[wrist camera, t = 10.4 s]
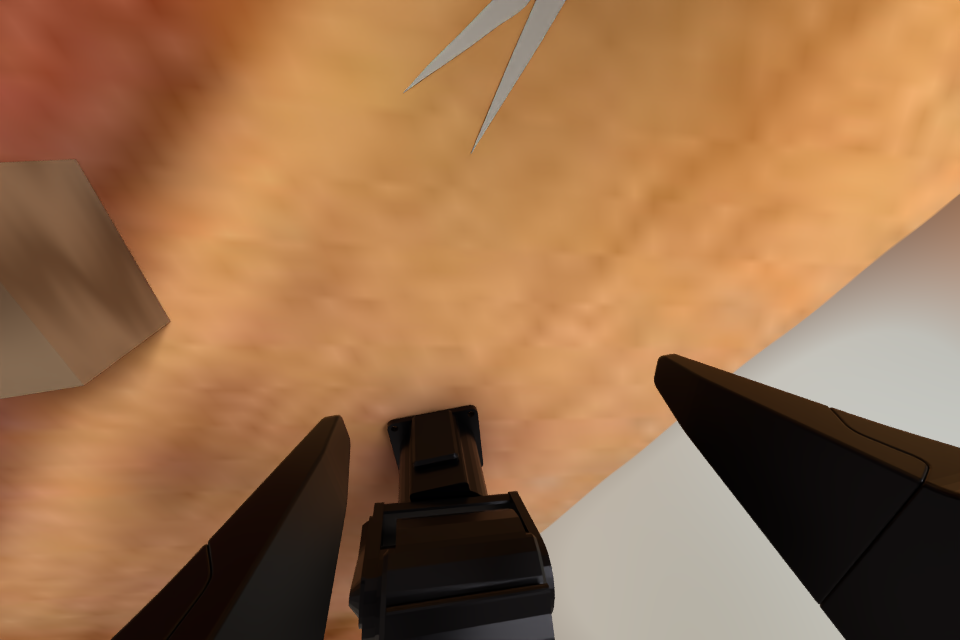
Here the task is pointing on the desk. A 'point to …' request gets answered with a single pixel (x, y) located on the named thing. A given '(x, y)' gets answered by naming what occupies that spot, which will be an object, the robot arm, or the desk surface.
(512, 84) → the scissors
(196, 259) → the desk surface
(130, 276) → the wooden block frame
